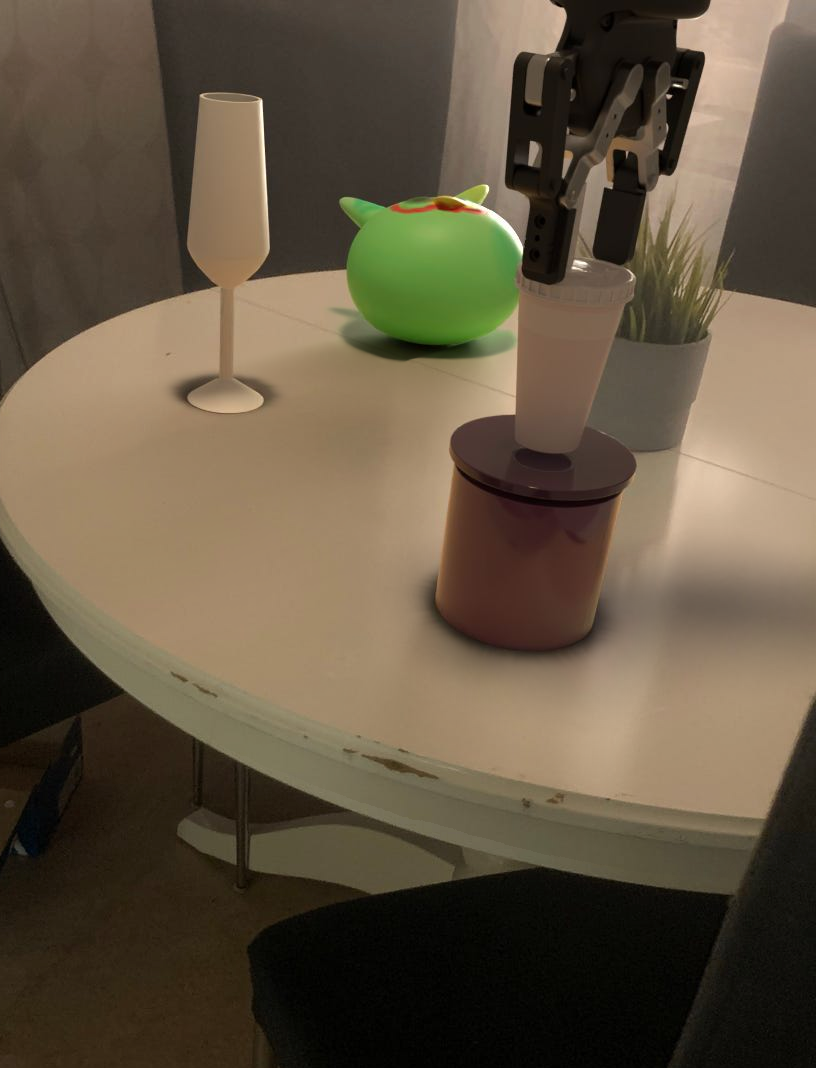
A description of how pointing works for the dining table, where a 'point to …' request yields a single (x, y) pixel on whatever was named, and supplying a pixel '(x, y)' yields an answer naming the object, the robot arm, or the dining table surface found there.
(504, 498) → the jar
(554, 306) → the smoothie
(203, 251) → the champagne flute
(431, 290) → the green rounded blob
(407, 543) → the dining table surface
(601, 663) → the dining table surface
